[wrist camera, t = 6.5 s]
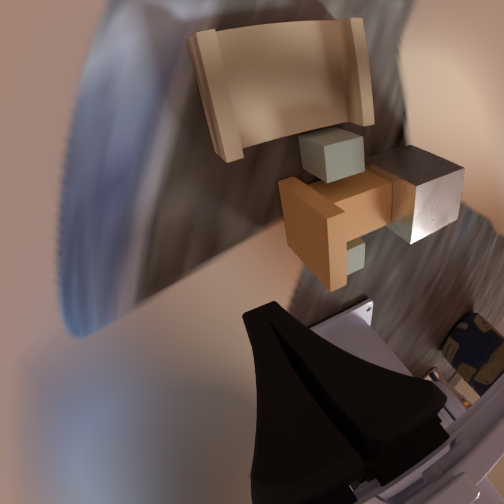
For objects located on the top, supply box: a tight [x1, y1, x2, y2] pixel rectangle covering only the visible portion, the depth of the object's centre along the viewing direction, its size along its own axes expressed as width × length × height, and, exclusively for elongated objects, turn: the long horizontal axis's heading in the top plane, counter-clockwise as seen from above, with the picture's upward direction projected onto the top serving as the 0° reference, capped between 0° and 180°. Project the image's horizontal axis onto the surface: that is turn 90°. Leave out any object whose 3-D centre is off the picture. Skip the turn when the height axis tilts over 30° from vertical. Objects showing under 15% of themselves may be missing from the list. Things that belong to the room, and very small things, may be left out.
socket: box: [298, 127, 365, 275], centre depth 18 cm, size 9×2×3 cm, turn 11°
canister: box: [442, 313, 504, 397], centre depth 36 cm, size 10×10×18 cm
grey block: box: [364, 145, 465, 244], centre depth 18 cm, size 4×5×5 cm
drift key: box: [278, 169, 392, 292], centre depth 17 cm, size 4×6×5 cm
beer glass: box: [421, 368, 473, 410], centre depth 44 cm, size 7×7×15 cm
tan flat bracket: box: [187, 18, 374, 163], centre depth 13 cm, size 6×8×2 cm
